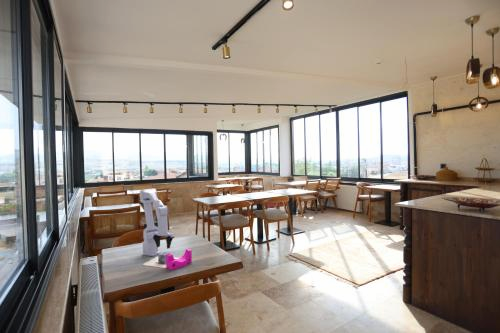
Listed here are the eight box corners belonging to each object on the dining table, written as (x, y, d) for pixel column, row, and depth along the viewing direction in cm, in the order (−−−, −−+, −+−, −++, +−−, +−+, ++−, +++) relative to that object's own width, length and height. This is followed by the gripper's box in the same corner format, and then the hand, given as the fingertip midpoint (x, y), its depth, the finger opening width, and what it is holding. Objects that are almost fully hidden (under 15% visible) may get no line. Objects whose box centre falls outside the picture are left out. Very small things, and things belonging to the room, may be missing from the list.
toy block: (170, 270, 160) (170, 257, 160) (166, 266, 165) (165, 254, 164) (193, 263, 170) (193, 251, 169) (188, 260, 174) (188, 248, 174)
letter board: (142, 264, 169) (142, 264, 169) (159, 255, 184) (159, 255, 184) (165, 268, 163) (165, 267, 163) (180, 258, 178) (180, 258, 178)
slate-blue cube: (158, 262, 172) (158, 254, 171) (163, 259, 176) (163, 251, 176) (165, 263, 170) (164, 255, 170) (170, 260, 174) (169, 252, 174)
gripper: (148, 226, 170) (149, 248, 171) (168, 228, 165) (169, 250, 166) (156, 223, 177) (157, 244, 178) (175, 225, 172) (176, 247, 173)
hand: (163, 247), depth 172 cm, fingers open, 7 cm apart
